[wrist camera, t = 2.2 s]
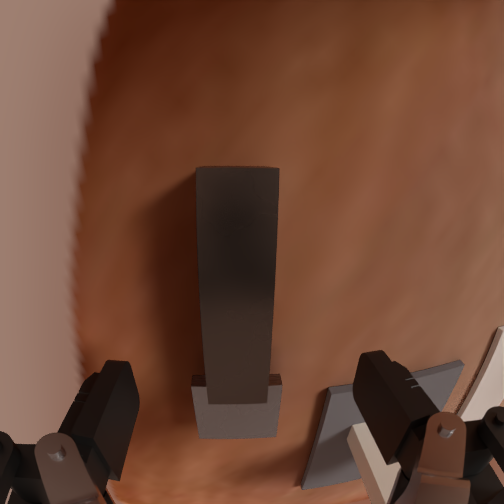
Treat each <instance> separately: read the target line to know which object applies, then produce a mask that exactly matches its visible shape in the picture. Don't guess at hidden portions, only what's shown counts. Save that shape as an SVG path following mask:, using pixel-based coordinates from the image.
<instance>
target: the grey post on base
mask: <svg viewBox="0 0 504 504" xmlns="http://www.w3.org/2000/svg"><path fill="white" fill-rule="evenodd" d="M278 198H279V168H274V167H265V166H203V167H197V168H196V220H197V255H198V278H199V297H200V314H201V329H202V342H203V355H204V366H205V375H193V377H192V384H191V389H192V396H193V403H194V409H195V415H196V421H197V427H198V433H199V438H202V439H245V438H266V437H276V434H277V426H278V418H279V410H280V402H281V393H282V381H281V377H280V374H269V371H270V357H271V341H272V325H273V308H274V290H275V270H276V249H277V225H278Z"/></svg>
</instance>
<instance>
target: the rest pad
mask: <svg viewBox="0 0 504 504" xmlns="http://www.w3.org/2000/svg"><path fill="white" fill-rule="evenodd" d="M503 399H504V326H501V327H498V329H497V332H496V335H495V337H494V340H493V342H492V345H491V347H490V349H489V352H488V354H487V356H486V359H485V361H484V363H483V365H482V367H481V370H480V372H479V374H478V376H477V378H476V380H475V382H474V384H473V386H472V388H471V390H470V392H469V394H468V395H467V397H466V399H465V401H464V403H463V404H462V406H461V408H460V410H459V411H458V413H457V415H458V416H459V417H460V418H461V419H462V420H463V421H472V420H480V419H482V418H483V416H484V415H485V413H486V412H487V410H488V409H490V408H491V407H495V406H499V405H500V404H501V402H502V400H503Z"/></svg>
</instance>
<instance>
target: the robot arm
mask: <svg viewBox="0 0 504 504" xmlns="http://www.w3.org/2000/svg"><path fill="white" fill-rule="evenodd" d="M352 392H353V398H354V401H355V403H356V405H357V407H358V409H359V411H360V413H361V415H362V417H363V419H364V421H365V423H366V425H367V427H368V429H369V431H370V433H371V435H372V437H373V439H374V441H375V443H376V445H377V447H378V449H379V451H380V453H381V455H382V457H383V459H384V461H385V463H386V465H390V464H393V463H396V462H399V464H400V466H401V467H400V469H399V471H398V473H397V476H396V479H395V482H394V485H393V488H392V491H391V493H390V496H389V499H388V501H387V504H504V487H503V485H502V484H501V482H500V480H499V479H498V477H497V475H496V474H495V472H494V470H493V469H492V467H491V466H490V464H489V462H490V461H491V460H492V459H493V457H494V458H495V460H496V461H497V463H498V465H499V466H500V467H501V469H502V471H503V472H504V407H500V406H495V407H491V408H490V409H488V410H487V412H486V413H485V415H484V416H483V418H482V419H480V420H472V421H463V420H462V419H461V418H460V417H459V416H458V415H456V414H453V413H450V412H440V411H439V409H438V408H437V407H436V405H435V404H434V403H433V402H432V400H431V399H430V398H429V396H428V395H427V394H426V392H425V391H424V390H423V389H422V387H421V386H419V383H418V382H417V381H416V380H415V379H413V376H412V375H411V373H410V372H409V371H408V370H407V368H405V367H404V366H402V365H401V364H399V363H398V362H396V361H393V362H392V361H391V360H390V359H389V357H388V356H387V355H386V353H385V352H384V351H382V350H378V351H372V352H366V353H362V354H361V355H360V358H359V362H358V366H357V370H356V374H355V378H354V382H353V388H352ZM139 404H140V401H139V393H138V390H137V386H136V383H135V379H134V376H133V372H132V368H131V365H130V363H129V362H128V361H116V360H107V361H106V362H105V364H104V366H103V368H102V370H101V372H100V373H95V372H94V373H93V374H92V375H91V376H90V377H88V378H87V379H86V380H85V381H84V383H83V384H82V386H81V388H80V390H79V393H78V394H77V395H76V397H75V401H73V403H72V405H71V407H70V409H69V411H68V413H67V415H66V417H65V419H64V420H63V422H62V424H61V426H60V428H59V430H58V432H57V433H51V434H48V435H45V436H43V437H42V438H41V439H40V440H39V441H38V442H37V444H15V443H14V442H13V440H12V439H11V437H10V436H9V435H8V434H6V433H4V432H1V431H0V504H5V501H6V498H7V496H8V493H9V490H10V488H11V489H12V492H11V495H10V498H9V501H8V504H115V502H114V500H113V499H112V497H111V495H110V493H109V492H108V490H107V488H106V485H107V482H108V479H111V480H116V481H120V478H121V473H122V469H123V466H124V462H125V458H126V454H127V450H128V446H129V443H130V439H131V435H132V432H133V428H134V425H135V421H136V418H137V414H138V411H139Z"/></svg>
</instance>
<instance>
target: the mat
mask: <svg viewBox="0 0 504 504" xmlns="http://www.w3.org/2000/svg"><path fill="white" fill-rule="evenodd" d="M464 365H465V364H464V363H463V362H462V361H461V360H458V361H455V362H451V363H448V364H444V365H441V366H437V367H433V368H429V369H425V370H421V371H417V372H413V373H411V375H412V376H413V379H415V380H416V381H417V382H418V383H419V386H421V387H422V389H423V390H424V391H425V392H426V394H427V395H428V396H429V398H430V399H431V400H432V402H433V403H434V404H435V405H436V407H437V408H438V409H439V411H440V412H441V411H442V409H443V408H444V406H445V404H446V402H447V400H448V398H449V396H450V394H451V392H452V390H453V388H454V386H455V384H456V382H457V380H458V378H459V376H460V374H461V372H462V369H463V367H464ZM352 388H353V384H350V385H343V386H336V387H329V388H328V392H327V396H326V400H325V404H324V408H323V412H322V416H321V419H320V423H319V427H318V430H317V434H316V437H315V441H314V444H313V448H312V451H311V454H310V457H309V461H308V464H307V467H306V470H305V473H304V476H303V479H302V482H301V488H302V490H305V489H312V488H318V487H324V486H329V485H334V484H339V483H344V482H348V481H352V480H356V479H360V478H361V475H360V473H359V470H358V467H357V465H356V462H355V460H354V457H353V455H352V452H351V449H350V447H349V444H348V442H347V437H348V435H349V432H350V430H351V427H352V425H355V424H360V423H365V421H364V419H363V417H362V415H361V413H360V411H359V409H358V407H357V405H356V403H355V401H354V398H353V392H352Z"/></svg>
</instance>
